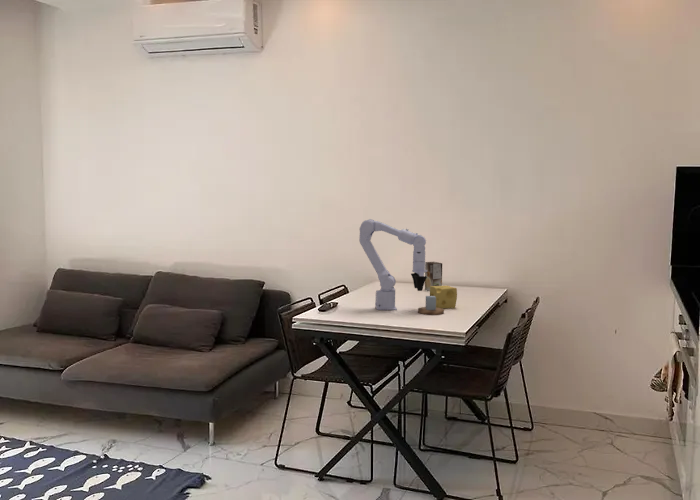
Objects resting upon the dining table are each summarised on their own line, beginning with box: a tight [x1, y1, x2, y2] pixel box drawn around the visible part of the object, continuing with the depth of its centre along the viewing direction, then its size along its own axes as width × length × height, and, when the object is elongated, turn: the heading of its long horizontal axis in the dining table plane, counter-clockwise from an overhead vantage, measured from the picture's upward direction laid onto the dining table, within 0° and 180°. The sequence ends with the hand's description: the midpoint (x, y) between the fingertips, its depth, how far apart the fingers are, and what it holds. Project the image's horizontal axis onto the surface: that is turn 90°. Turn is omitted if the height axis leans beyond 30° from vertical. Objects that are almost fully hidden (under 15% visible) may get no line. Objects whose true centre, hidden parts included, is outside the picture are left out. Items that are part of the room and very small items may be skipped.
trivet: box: [417, 306, 445, 316], centre depth 314 cm, size 12×12×2 cm
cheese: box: [429, 285, 458, 309], centre depth 329 cm, size 10×11×10 cm
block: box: [424, 295, 436, 310], centre depth 313 cm, size 4×4×6 cm
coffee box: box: [424, 261, 443, 292], centre depth 379 cm, size 9×6×16 cm
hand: (418, 289), depth 318 cm, fingers open, 7 cm apart
